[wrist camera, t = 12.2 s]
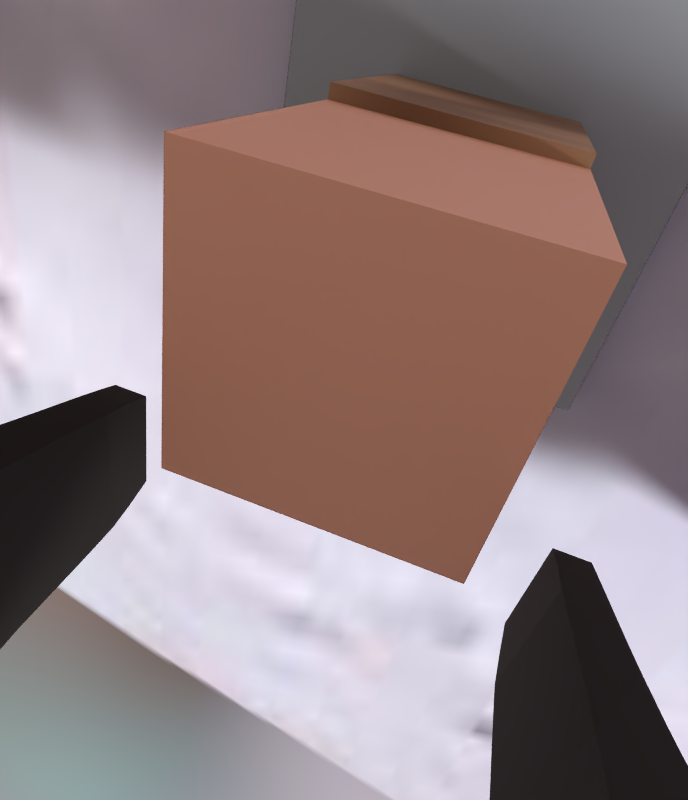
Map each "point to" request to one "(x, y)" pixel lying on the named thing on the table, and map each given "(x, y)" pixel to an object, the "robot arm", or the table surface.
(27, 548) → the robot arm
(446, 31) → the baseplate
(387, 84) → the walnut block
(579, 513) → the table surface
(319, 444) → the terracotta block
